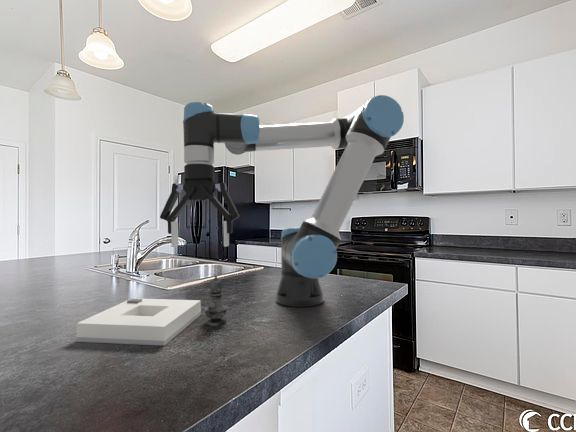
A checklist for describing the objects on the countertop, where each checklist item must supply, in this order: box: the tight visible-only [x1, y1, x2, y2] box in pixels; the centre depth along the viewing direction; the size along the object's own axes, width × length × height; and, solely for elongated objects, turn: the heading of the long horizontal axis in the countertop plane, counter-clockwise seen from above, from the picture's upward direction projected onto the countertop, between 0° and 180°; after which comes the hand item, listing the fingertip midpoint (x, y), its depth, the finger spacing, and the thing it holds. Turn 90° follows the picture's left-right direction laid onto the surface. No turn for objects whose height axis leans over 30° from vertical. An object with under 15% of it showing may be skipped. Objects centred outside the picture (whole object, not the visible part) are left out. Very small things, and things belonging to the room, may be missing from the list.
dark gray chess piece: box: [203, 275, 228, 327], centre depth 80 cm, size 6×6×12 cm
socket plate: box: [76, 297, 202, 346], centre depth 77 cm, size 20×20×5 cm
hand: (200, 246), depth 81 cm, fingers open, 13 cm apart
